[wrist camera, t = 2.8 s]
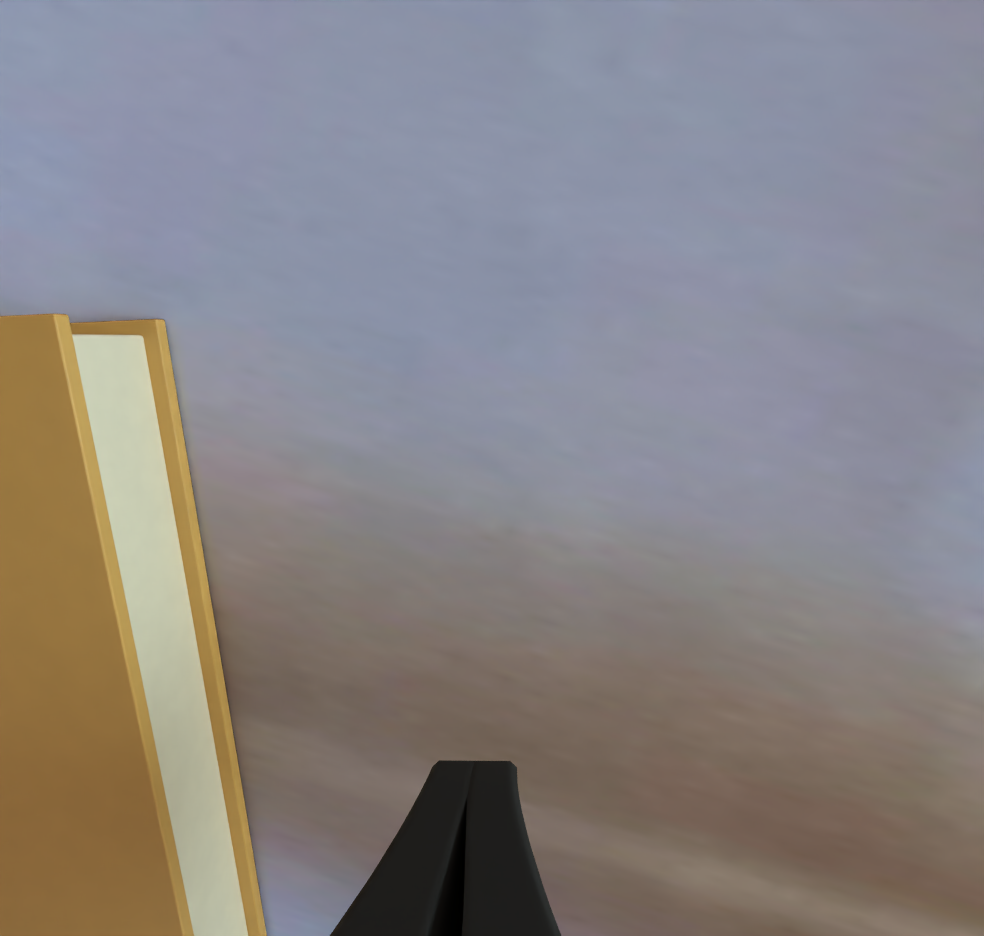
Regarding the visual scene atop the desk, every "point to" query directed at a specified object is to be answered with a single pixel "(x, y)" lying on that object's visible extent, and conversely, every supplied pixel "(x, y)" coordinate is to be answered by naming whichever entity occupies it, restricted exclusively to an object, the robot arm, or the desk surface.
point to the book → (109, 651)
